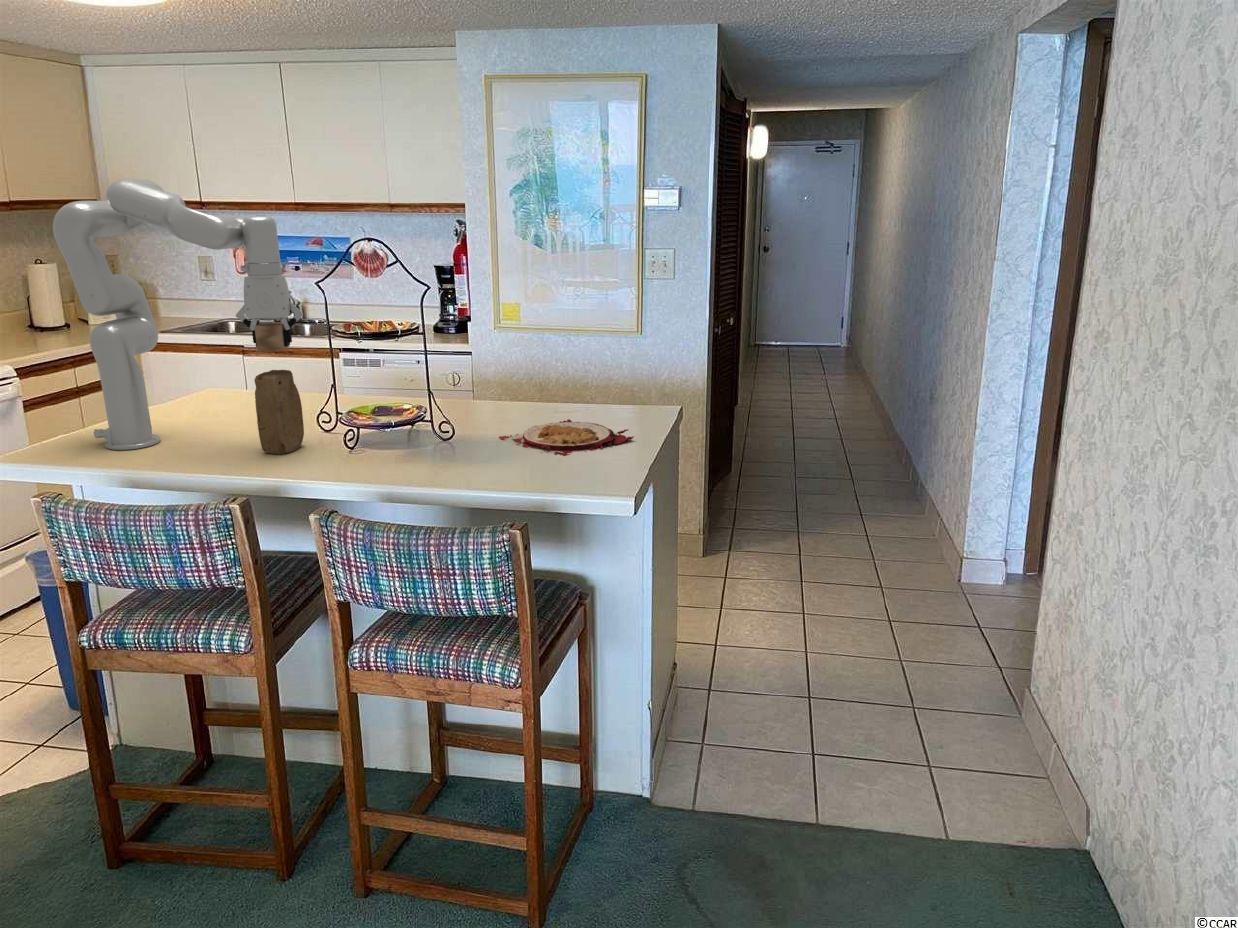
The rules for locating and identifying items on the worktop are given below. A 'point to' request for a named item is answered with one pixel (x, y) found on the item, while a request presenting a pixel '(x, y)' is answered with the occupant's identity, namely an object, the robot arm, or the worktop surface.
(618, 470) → the worktop surface
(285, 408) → the block
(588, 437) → the plate with food
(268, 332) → the cube
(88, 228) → the robot arm
